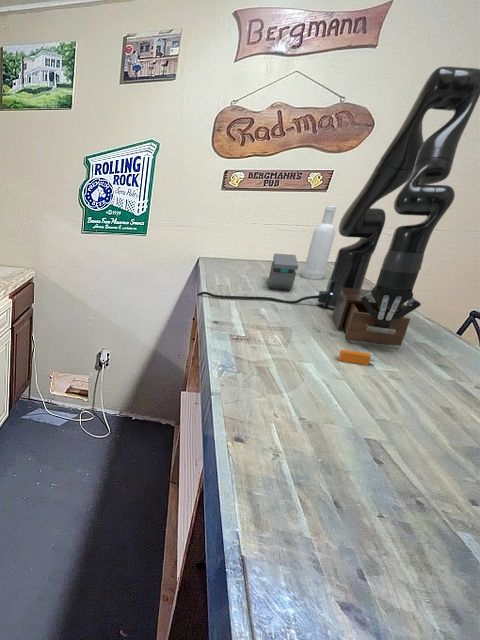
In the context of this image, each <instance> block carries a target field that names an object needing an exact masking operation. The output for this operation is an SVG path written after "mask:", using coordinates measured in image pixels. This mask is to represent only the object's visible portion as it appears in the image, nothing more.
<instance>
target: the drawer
mask: <svg viewBox="0 0 480 640" xmlns="http://www.w3.org/2000/svg"><path fill="white" fill-rule="evenodd" d="M371 306H372V308H373V309H374V311H376V312H377V310H378V306H377V305H371ZM386 310H387V308H386ZM398 310H399V309H398V308H397V309H396V311H395V312H397V311H398ZM385 313H386V311H385ZM384 315H385V314H384ZM375 320H376V317H374V316H371V315H370V314H369V312H368V310H367V309H366V307H365V305H364V304H358V303H349V306H348V309H347V312H346V315H345V319H344V322H343V326H344V328H345V330H346V331H345V335H344V339H345V340H353V341H359V342H365V343H375V344H383V345H389V346H396V347H401V346H402V343H403V341H404V338H405V335H406V332H407V329H408V327H409V324H410V321H411V318H410V317H407V316H406V315H405V316H403V317H402V318H400V319H393V320H391V321H390V323H389V326H388V328H381V327H373V326H374V323H375ZM376 332H378V333H376Z"/></svg>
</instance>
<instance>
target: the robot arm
mask: <svg viewBox="0 0 480 640" xmlns="http://www.w3.org/2000/svg"><path fill="white" fill-rule="evenodd" d="M479 99H480V68H477V67H463V66H439V67H437V68H435V70H433V72H431V74H430V75H429V76H428V78H427V79H426V81H425V82H424V84H423V86H422V87H421V89H420V91H419V93H418V94H417V97H416V99H414V102H413V104H412V105H411V108H410V110H409V111H408V113H407V115H406V117H405V119H404V121H403V122H402V124H401V126H400V128H399V130H397V133H396V134H395V136H394V137H393V139H392V140H391V142H390V143H389V145H388V146H387V148H386V149H385V151H384V152H383V154H382V156H381V157H380V159H379V161H378V162H377V164H376V166H375V167H374V169H373V171H372V173H371V174H370V176H369V178H368V179H367V181H366V183H365V184H364V186H363V187H362V189H361V190H360V192H359V193H358V194H357V196H356V197H355V198H354V200H353V201H352V202H351V204H350V205H349V206H348V208H347V209H346V211H345V212H344V213H343V215H342V217H341V219H340V221H339V224H338V233H339V235H340V236H341V237H345V238H359V239H358V240H357V241H356V242H354V243H352V244H350V245H347V246H343V247H341V248H339V249H338V251H337V254H336V258H335V262H334V265H333V268H332V272H331V275H330V277H329V279H328V281H327V285H326V289H325V291H324V290H319V293H318V295H317V294H316V295H308V296H303V297H301V298H299V299H297V300H285V299H281V298H275V297H271V296H270V297H269V296H249V295H248V296H245V295H243V296H242V295H224V294H223V295H221V294H220V295H219V294H215V293H211V292H208V291H201V292H199V293H197V294H196V296H198V297H200V296H202V295H207V296H209V297H212V298H215V299H216V298H217V299H235V300H236V299H237V300H265V301H274V302H278V303H283V304H299V303H301V302H302V301H305V300H313V299H317V303H321V305H322V307H323V309H325V308H326V309H330V310H334V308H335V305H336V301H337V298H338V294H339V291H340V288H341V287H343V288H353V289H363V288H362V287H363V285H364V282H365V281H364V280H365V278H366V275H367V271H368V268H369V265H370V262H371V259H372V256H373V254H374V252H375V251H376V248H377V246H378V242H379V241H380V240H379V239H380V237H381V235H382V232H383V230H384V227H385V223H386V217H387V216H386V212H385V210H384V209H383V208H378V207H377V208H376V207H375V208H374V207H373V205H375V204H376V203H377V202H378V201H380V200H381V199H383V198H384V197H386V196H388V195H389V194H391V193H393V192H394V191H396V190H398V189H399V188H400V187H401V189H400V190H399V192H398V194H397V195H396V197H395V199H394V201H393V209H394V211H395V212H396V214H397V215H402V216H415V217H417V216H418V217H426V218H424V220H422V221H420V222H419V223H414V224H406V225H400V226H398V227H396V228H395V229H394V232H393V234H392V237H391V240H390V243H389V247H388V250H387V252H386V253H385V255H384V258H383V261H382V264H381V267H380V271H379V274H378V277H377V280H376V283H375V286H374V287H373V288H372V289H371V290H372V291H371V293H369V294H366V295H361V296H360V299H361V301H362V302H363V304H364V305H365V307H366V309H367V310H368V312H369V314H370V315H371V316H374V317H376V320H375V323H374V326H373V327H381V328H388V326H389V323H390V321H391V320H393V319H400V318H402V317H403V316H405V317H406V316H407V315H408V314H410V313H411V312H413V311H414V310H416V309H418V308H419V307H421V306H422V304H421V302H420V301H419V300H417V299H415V298H414V292H413V291H414V287H415V284H416V281H417V279H418V275H419V273H420V270H421V269H422V264H423V262H424V256H425V252H426V249H427V247H428V243H429V241H430V238H431V237H432V234H433V231H434V230H435V228H436V227H437V225H438V223H439V222H440V221H441V219H442V218H443V217H444V215H445V214H446V213H447V211H448V210H449V209H450V207H451V206H452V204H453V202H454V200H455V197H456V192H455V189H454V188H453V187H452V186H450V185H447V184H437V183H440V182H443V181H444V180H446V179H447V178H448V177H449V176H450V174H451V172H452V168H453V164H454V160H455V156H456V152H457V148H458V146H459V143H460V140H461V138H462V136H463V133H464V131H465V129H466V127H467V125H468V123H469V121H470V118H471V117H472V114H473V112H474V110H475V107H476V105H477V103H478V101H479ZM429 110H434V111H435V110H437V111H445V112H453V114H452V116H451V118H449V120H448V121H447V122H446V123H444V125H442V126H441V127H440V128H438V129H437V130H436V131H435V132H433V133H432V134H431V135H429V137H427V138H426V139H425V141H424V135H423V121H424V118H425V115H426V114H427V112H428V111H429ZM402 186H403V187H402ZM372 297H373V298H374V299H375V301H376V303H377V304H378V310H377V312H376V311H374V309H373V308H372V306H371V304H370V303H369V302H371V301H372V299H371V298H372ZM402 304H404V305H405V304H406V305H405V306H404V307H403V308H401V309H400V310H398V311H397V312H395V311H396V309H397V307H399V306H401V305H402ZM386 308H387V310H386ZM385 311H386V313H385ZM384 314H385V315H384ZM376 333H378V332H376Z"/></svg>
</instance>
